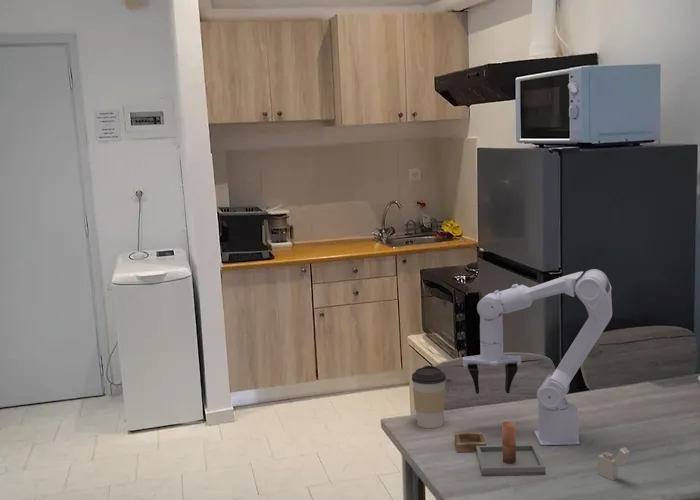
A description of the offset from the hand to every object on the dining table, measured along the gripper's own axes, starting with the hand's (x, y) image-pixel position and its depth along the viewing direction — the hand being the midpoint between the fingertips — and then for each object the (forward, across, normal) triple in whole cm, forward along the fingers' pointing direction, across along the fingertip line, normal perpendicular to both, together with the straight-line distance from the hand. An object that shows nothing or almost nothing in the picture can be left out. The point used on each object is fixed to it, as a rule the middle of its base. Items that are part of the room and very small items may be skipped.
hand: (492, 392), depth 188 cm
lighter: (+10, +22, -28) cm, 37 cm away
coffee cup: (+11, -16, +6) cm, 20 cm away
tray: (+10, +1, -19) cm, 22 cm away
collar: (+10, -7, -9) cm, 15 cm away
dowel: (+10, +1, -19) cm, 21 cm away
